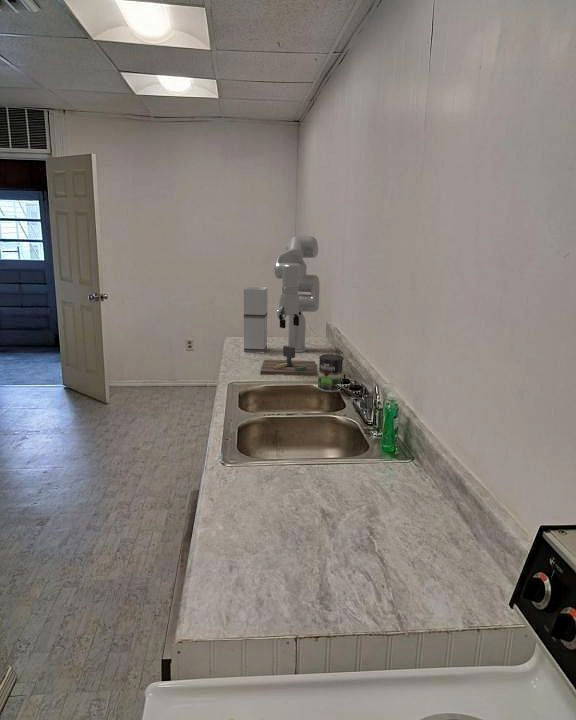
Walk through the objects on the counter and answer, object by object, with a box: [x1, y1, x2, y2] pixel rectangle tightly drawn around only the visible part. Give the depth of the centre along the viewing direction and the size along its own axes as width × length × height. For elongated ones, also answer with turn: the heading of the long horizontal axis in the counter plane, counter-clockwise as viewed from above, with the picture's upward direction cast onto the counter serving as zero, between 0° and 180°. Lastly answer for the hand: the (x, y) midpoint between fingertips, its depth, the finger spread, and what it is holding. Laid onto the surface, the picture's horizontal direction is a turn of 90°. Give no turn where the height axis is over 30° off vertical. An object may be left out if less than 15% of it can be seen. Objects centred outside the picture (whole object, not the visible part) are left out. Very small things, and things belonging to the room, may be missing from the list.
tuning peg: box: [276, 345, 296, 368], centre depth 247 cm, size 11×6×9 cm, turn 138°
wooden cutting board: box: [260, 359, 317, 377], centre depth 251 cm, size 22×26×3 cm
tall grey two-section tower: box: [243, 286, 268, 353], centre depth 285 cm, size 11×11×35 cm
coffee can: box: [317, 353, 345, 393], centre depth 219 cm, size 10×10×14 cm
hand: (289, 326), depth 246 cm, fingers open, 9 cm apart
